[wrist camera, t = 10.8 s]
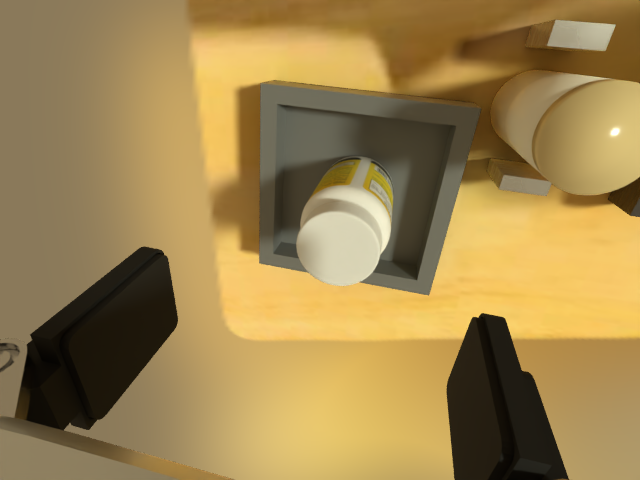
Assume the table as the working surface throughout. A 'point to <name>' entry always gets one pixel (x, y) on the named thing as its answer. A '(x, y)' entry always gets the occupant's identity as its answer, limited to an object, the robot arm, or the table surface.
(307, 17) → the table surface
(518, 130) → the cylinder
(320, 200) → the supplement bottle
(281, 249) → the tray
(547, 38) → the clip rail
